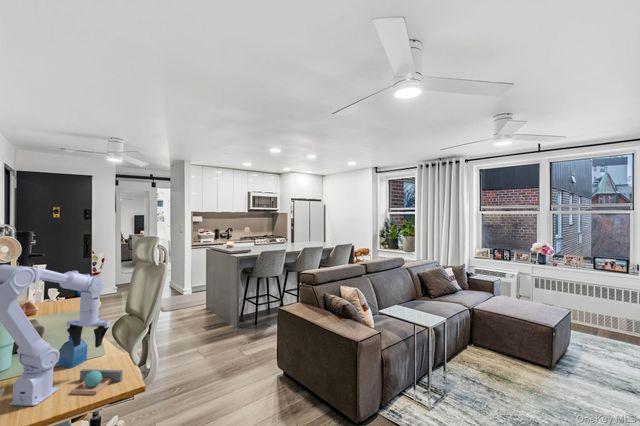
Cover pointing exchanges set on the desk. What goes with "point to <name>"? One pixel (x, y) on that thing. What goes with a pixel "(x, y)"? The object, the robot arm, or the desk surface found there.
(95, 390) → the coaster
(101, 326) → the robot arm
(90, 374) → the ball
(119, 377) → the wall
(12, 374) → the desk surface
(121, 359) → the desk surface
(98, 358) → the desk surface
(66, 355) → the perfume bottle
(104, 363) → the desk surface
